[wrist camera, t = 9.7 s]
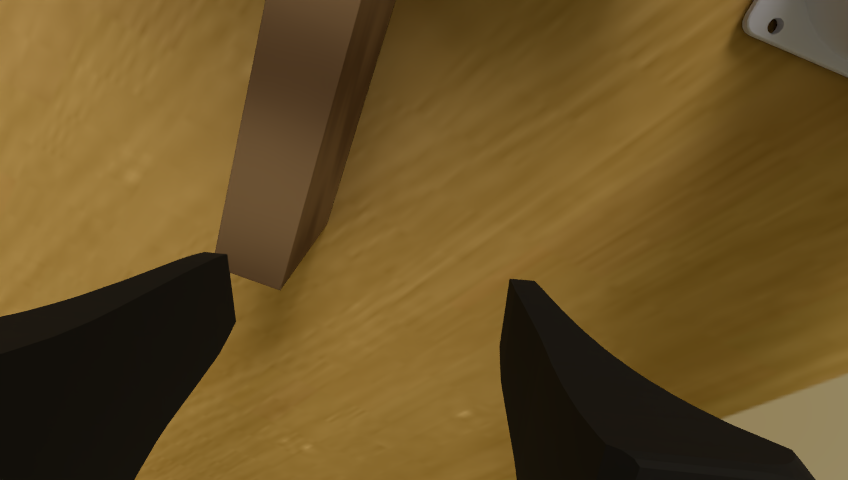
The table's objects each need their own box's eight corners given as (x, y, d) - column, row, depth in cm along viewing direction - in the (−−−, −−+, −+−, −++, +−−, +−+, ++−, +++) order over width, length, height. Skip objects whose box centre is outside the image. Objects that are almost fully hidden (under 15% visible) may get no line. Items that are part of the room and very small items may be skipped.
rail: (329, 224, 22) (283, 291, 16) (274, 204, 22) (209, 265, 16) (474, -246, 15) (478, -404, 9) (395, -281, 15) (353, -465, 9)
